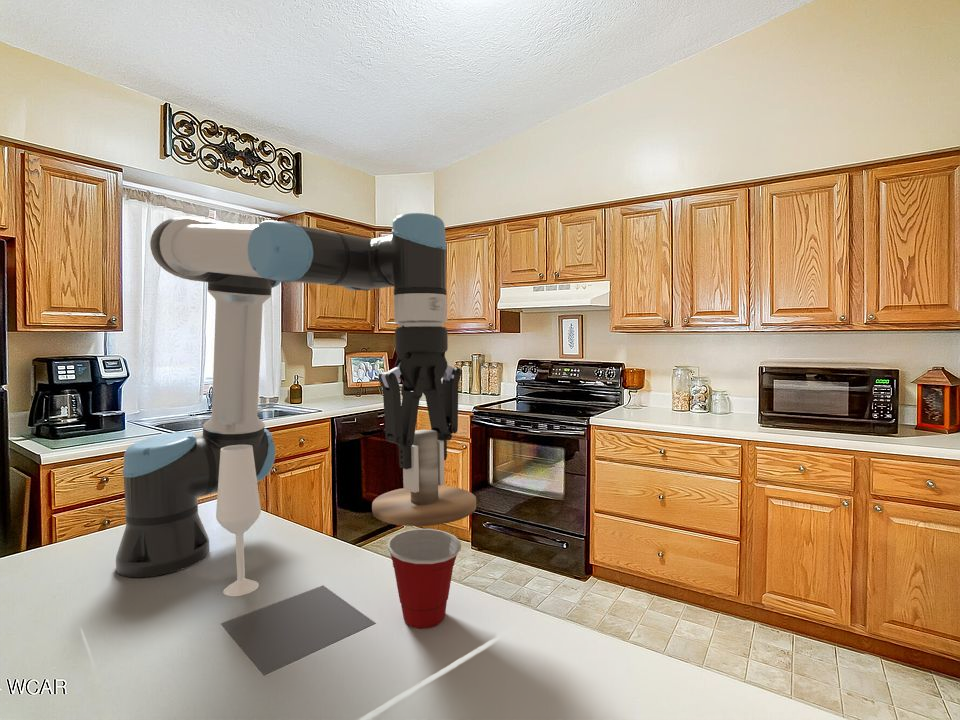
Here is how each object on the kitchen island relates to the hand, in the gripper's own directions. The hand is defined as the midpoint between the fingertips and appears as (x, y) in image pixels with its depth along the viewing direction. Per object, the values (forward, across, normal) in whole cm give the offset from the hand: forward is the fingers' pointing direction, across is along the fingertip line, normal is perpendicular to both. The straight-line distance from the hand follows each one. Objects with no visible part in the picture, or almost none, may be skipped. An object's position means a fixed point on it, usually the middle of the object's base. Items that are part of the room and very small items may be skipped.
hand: (424, 486), depth 74 cm
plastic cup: (+20, 0, 0) cm, 20 cm away
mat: (+20, -14, +12) cm, 27 cm away
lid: (+3, 0, 0) cm, 3 cm away
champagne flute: (+20, -16, +29) cm, 39 cm away
